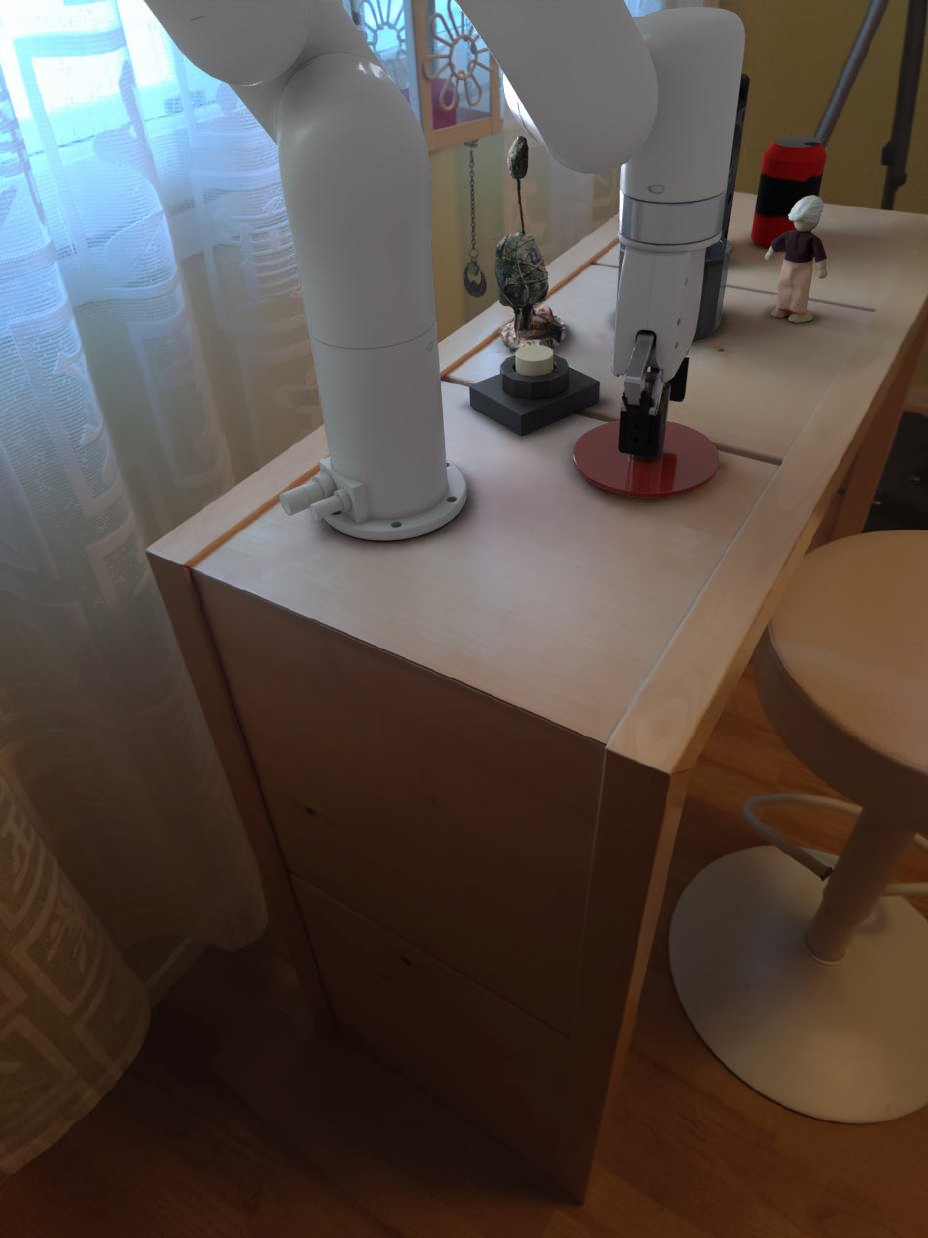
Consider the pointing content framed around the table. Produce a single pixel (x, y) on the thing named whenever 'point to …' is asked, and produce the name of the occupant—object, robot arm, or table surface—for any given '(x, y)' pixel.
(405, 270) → the robot arm
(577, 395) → the control block
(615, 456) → the lid
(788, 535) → the table surface
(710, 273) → the pot
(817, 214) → the grandmother figurine
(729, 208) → the electronic device
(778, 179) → the soda can
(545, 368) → the button
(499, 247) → the plant with pod
